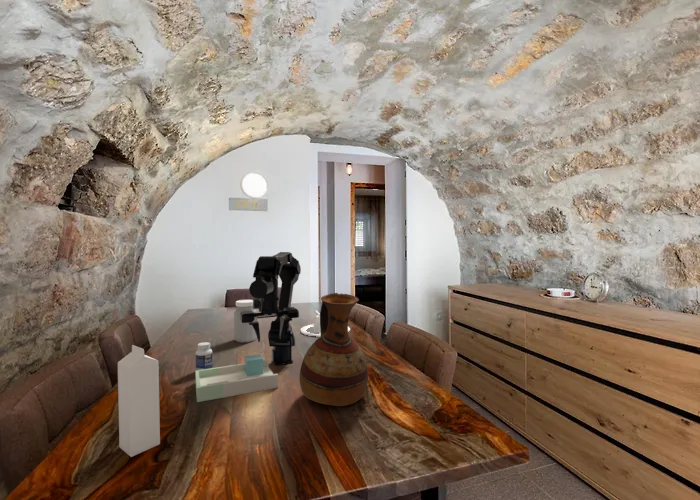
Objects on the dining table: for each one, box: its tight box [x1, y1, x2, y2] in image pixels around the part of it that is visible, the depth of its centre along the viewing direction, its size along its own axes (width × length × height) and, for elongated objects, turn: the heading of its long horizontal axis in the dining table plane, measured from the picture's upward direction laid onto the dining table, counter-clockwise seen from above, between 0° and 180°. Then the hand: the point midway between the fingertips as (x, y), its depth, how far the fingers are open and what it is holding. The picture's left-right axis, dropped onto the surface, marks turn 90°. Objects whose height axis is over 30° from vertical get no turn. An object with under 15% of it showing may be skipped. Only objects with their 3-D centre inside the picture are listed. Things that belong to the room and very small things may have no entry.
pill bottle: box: [195, 341, 214, 371], centre depth 122 cm, size 5×5×10 cm
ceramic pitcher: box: [299, 292, 369, 407], centre depth 101 cm, size 20×20×30 cm
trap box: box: [194, 359, 279, 403], centre depth 110 cm, size 23×15×4 cm, turn 115°
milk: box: [117, 344, 161, 458], centre depth 77 cm, size 6×6×22 cm
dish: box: [300, 309, 351, 338], centre depth 177 cm, size 25×25×11 cm
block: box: [244, 353, 264, 376], centre depth 115 cm, size 5×5×5 cm
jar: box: [233, 299, 257, 344], centre depth 161 cm, size 10×10×18 cm
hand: (269, 340), depth 118 cm, fingers open, 7 cm apart
